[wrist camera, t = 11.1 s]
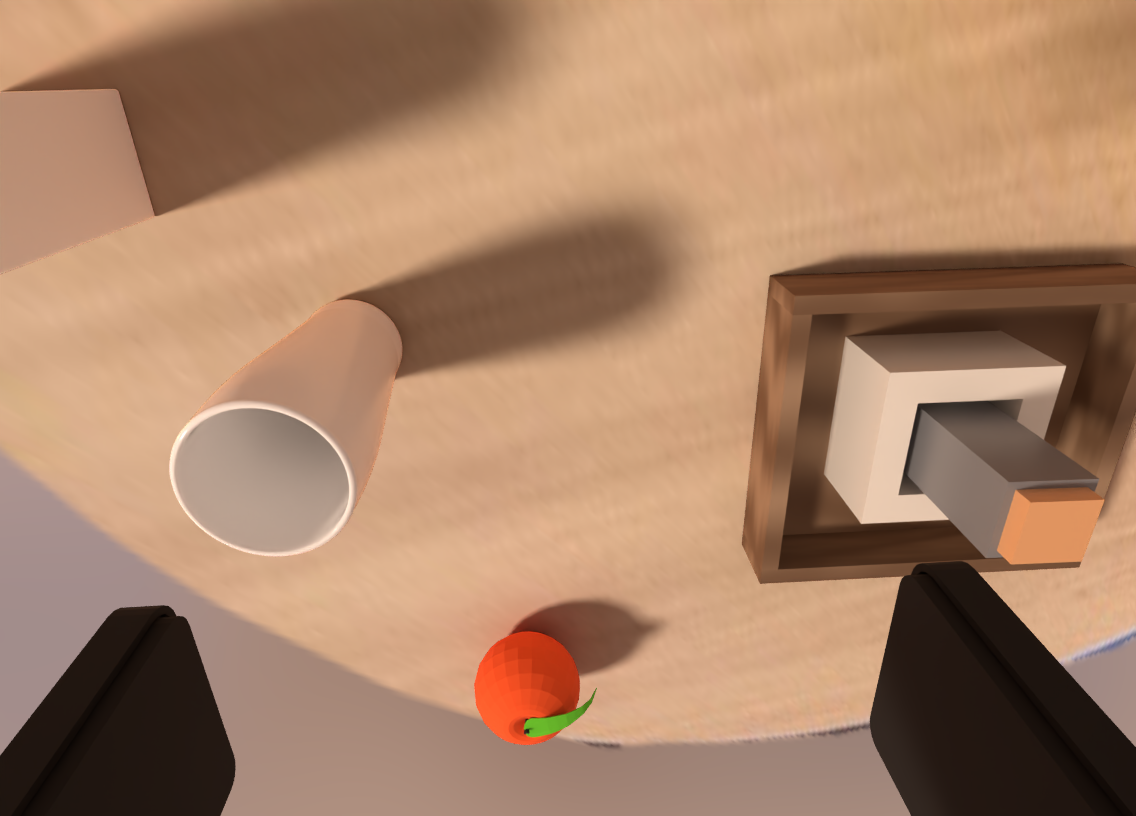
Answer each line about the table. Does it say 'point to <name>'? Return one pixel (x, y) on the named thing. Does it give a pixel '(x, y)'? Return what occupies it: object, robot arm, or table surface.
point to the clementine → (528, 688)
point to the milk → (65, 172)
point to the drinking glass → (291, 434)
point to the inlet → (922, 375)
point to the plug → (1002, 483)
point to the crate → (917, 306)
